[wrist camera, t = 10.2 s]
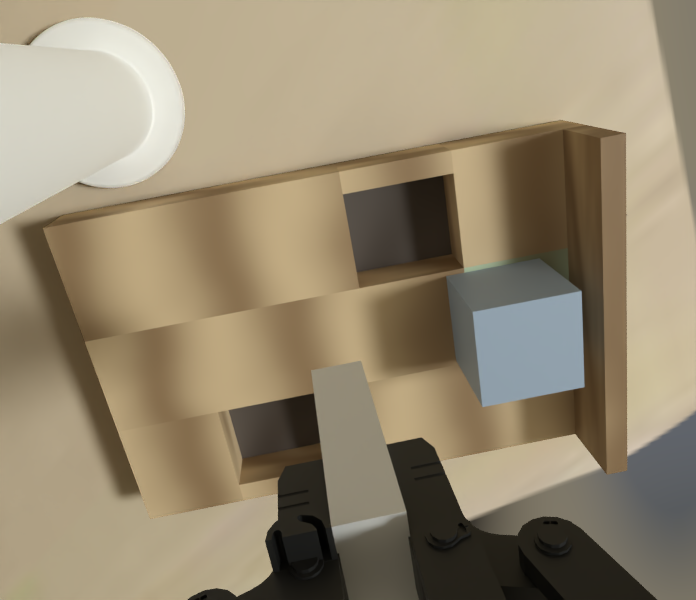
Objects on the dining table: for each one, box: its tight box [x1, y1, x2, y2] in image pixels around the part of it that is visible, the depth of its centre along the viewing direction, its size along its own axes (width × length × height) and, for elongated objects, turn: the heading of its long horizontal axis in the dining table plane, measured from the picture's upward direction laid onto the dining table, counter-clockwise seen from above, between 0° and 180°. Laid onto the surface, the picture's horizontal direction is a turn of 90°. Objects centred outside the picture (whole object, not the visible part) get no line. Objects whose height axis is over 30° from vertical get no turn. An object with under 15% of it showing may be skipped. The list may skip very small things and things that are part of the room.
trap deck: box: [43, 120, 627, 519], centre depth 29 cm, size 24×16×6 cm, turn 100°
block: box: [446, 258, 585, 407], centre depth 28 cm, size 4×4×4 cm
